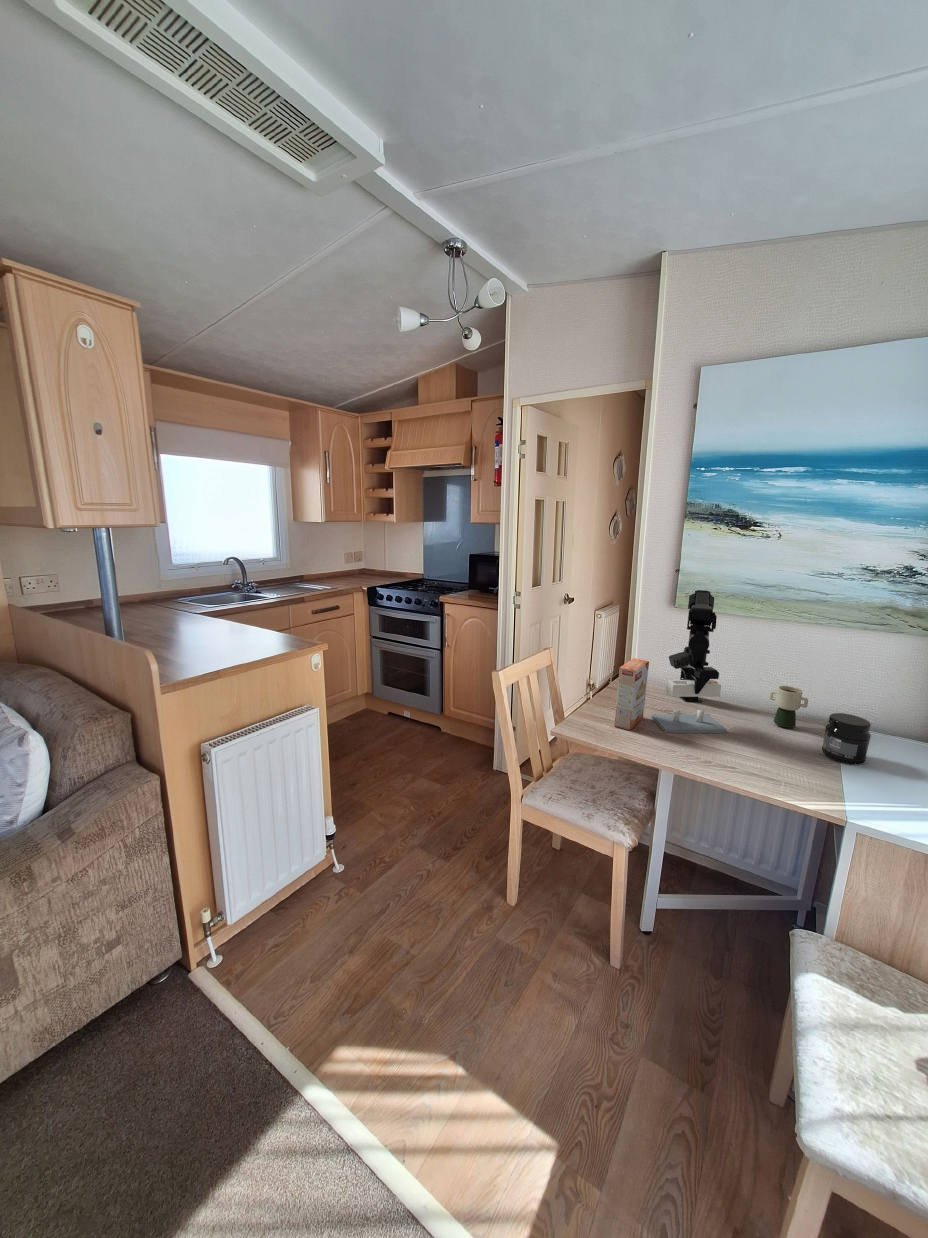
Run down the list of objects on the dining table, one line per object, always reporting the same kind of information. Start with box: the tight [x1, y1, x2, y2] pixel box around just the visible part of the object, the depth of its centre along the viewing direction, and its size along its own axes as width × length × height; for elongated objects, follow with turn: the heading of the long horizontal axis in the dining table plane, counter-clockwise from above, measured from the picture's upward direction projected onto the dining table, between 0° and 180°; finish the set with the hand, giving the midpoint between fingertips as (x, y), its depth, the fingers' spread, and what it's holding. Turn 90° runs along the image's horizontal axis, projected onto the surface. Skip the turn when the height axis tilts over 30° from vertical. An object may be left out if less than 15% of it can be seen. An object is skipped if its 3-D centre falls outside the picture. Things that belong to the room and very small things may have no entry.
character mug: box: [769, 685, 809, 728], centre depth 165 cm, size 11×7×13 cm, turn 45°
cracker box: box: [613, 658, 650, 731], centre depth 165 cm, size 14×6×21 cm, turn 143°
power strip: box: [664, 679, 722, 698], centre depth 163 cm, size 5×16×4 cm, turn 92°
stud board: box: [650, 709, 727, 734], centre depth 165 cm, size 12×20×5 cm, turn 91°
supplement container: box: [821, 712, 872, 765], centre depth 143 cm, size 10×10×12 cm
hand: (692, 691), depth 163 cm, fingers closed on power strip, 5 cm apart
